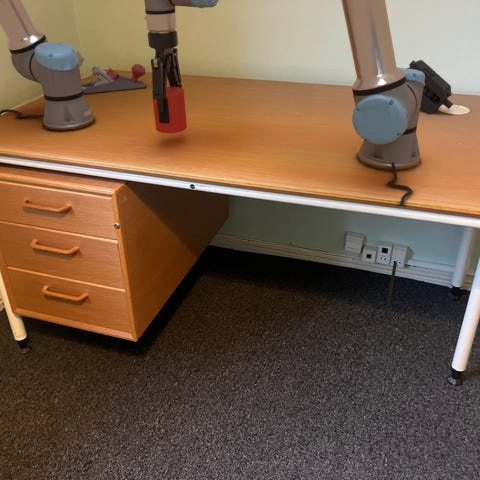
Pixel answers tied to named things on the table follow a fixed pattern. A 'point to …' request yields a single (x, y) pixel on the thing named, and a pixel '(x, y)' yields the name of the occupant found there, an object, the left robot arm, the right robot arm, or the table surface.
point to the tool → (432, 88)
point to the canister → (172, 111)
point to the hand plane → (112, 79)
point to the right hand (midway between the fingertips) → (170, 116)
